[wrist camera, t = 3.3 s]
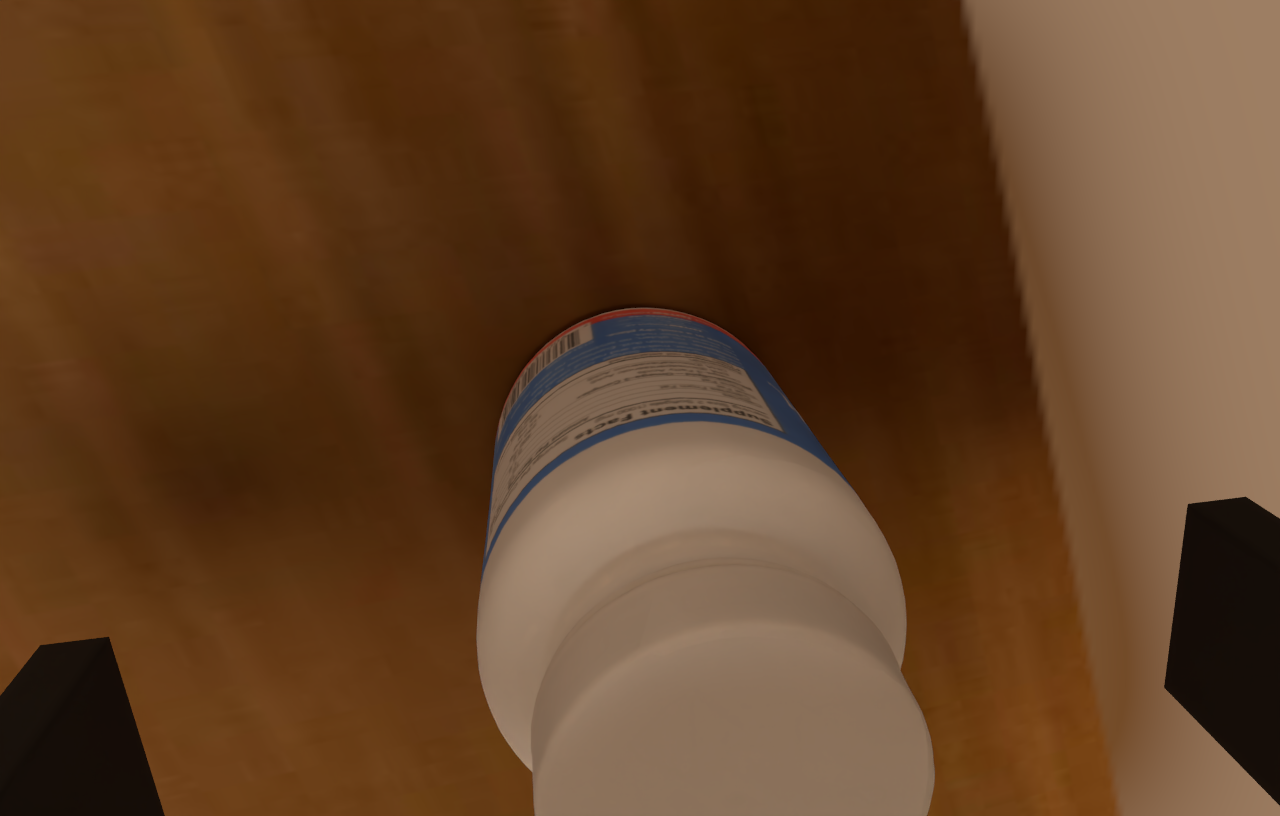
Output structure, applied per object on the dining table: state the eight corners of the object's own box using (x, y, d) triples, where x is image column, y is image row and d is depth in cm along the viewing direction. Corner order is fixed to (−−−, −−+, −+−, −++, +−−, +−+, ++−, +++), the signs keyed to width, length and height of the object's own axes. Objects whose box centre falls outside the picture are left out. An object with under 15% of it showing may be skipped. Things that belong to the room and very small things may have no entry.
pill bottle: (781, 552, 20) (985, 986, 11) (511, 577, 20) (489, 1049, 11) (782, 284, 18) (1032, 543, 9) (482, 306, 18) (424, 598, 9)
